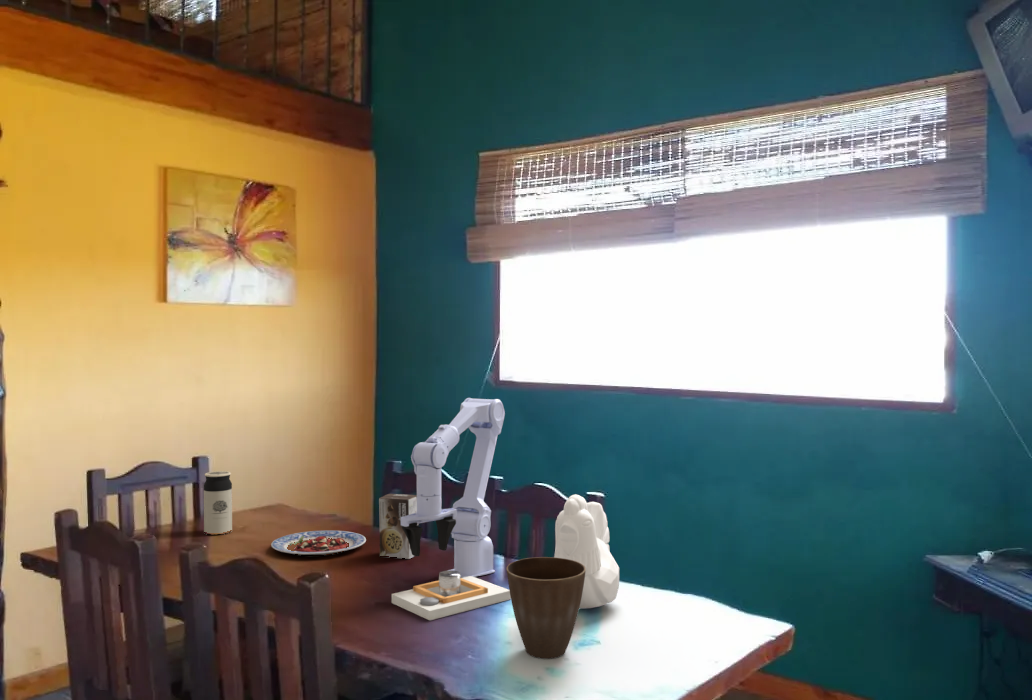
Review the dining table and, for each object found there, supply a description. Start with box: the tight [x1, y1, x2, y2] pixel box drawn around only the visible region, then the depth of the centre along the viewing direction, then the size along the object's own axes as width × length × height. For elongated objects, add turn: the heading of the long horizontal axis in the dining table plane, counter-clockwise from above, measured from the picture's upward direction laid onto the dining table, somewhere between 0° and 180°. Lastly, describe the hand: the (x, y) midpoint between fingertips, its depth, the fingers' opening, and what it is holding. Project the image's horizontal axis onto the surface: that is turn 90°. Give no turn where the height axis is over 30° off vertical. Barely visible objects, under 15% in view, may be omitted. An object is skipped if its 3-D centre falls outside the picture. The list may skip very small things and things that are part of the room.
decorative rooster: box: [553, 493, 620, 610], centre depth 189 cm, size 25×16×25 cm, turn 144°
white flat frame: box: [391, 576, 511, 621], centre depth 189 cm, size 22×15×3 cm
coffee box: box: [378, 493, 420, 560], centre depth 228 cm, size 9×6×16 cm
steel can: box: [438, 569, 461, 597], centre depth 189 cm, size 5×5×6 cm
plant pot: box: [505, 556, 586, 660], centre depth 159 cm, size 15×15×16 cm
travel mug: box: [203, 470, 233, 533], centre depth 254 cm, size 8×8×18 cm
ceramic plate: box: [270, 530, 367, 556], centre depth 236 cm, size 26×26×3 cm
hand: (429, 552), depth 196 cm, fingers open, 7 cm apart
